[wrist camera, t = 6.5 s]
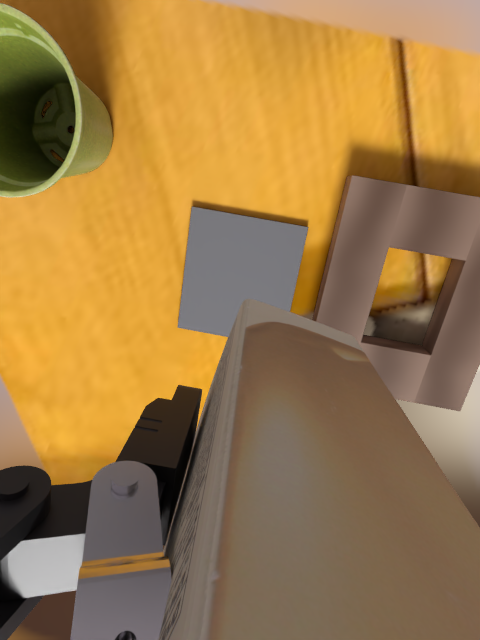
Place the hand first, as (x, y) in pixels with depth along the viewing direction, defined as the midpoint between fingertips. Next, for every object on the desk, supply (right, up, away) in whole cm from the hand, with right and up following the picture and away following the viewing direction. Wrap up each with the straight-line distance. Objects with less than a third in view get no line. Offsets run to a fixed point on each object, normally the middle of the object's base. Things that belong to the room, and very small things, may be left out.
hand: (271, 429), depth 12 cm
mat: (-1, +7, +19) cm, 20 cm away
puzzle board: (+12, +5, +19) cm, 23 cm away
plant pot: (-13, +18, +17) cm, 28 cm away
